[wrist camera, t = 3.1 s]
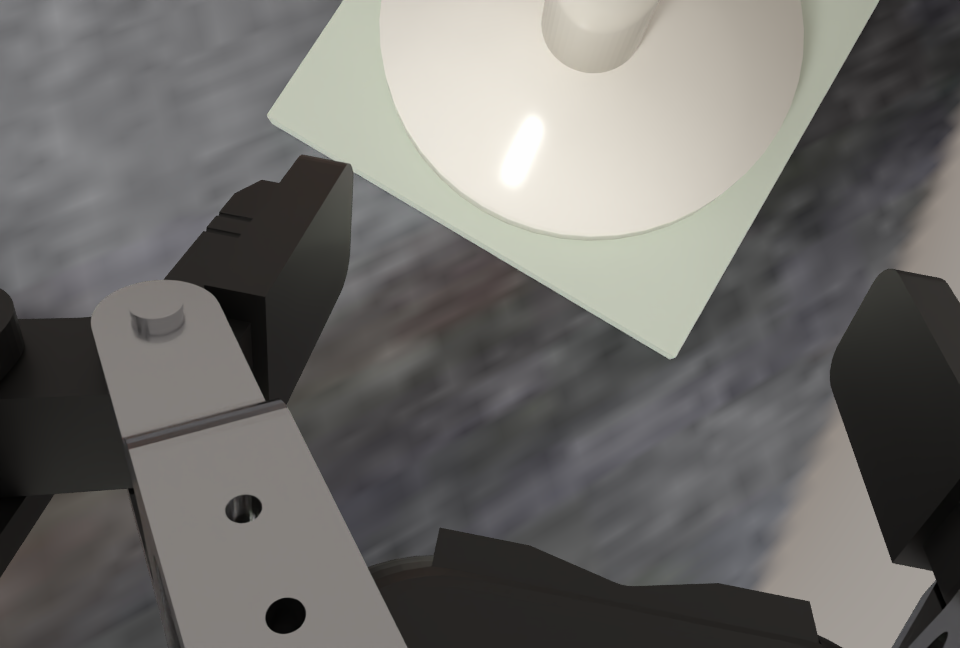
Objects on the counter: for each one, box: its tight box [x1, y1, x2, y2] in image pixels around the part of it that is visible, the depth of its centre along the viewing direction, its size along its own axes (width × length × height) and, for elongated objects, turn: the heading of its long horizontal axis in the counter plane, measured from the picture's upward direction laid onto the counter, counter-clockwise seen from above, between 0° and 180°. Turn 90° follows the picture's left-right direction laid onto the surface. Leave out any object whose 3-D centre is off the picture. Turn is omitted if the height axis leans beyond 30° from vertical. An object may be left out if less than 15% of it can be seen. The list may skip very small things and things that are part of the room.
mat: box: [267, 0, 879, 359], centre depth 29 cm, size 17×17×1 cm
